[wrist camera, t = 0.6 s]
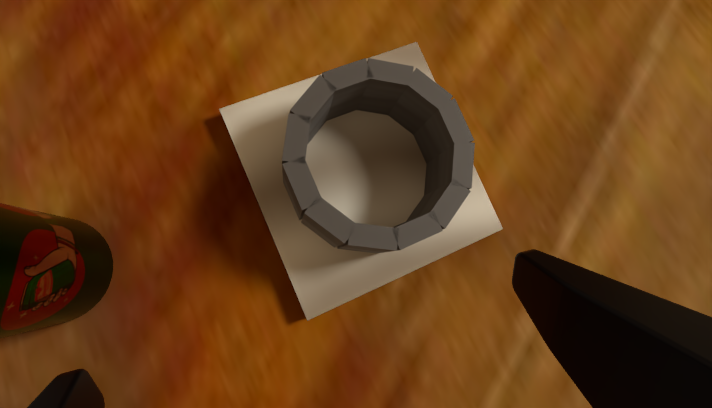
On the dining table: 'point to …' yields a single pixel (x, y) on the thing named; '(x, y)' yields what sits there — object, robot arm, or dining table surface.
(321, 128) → the collar socket
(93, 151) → the dining table surface
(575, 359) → the robot arm
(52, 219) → the soda can
